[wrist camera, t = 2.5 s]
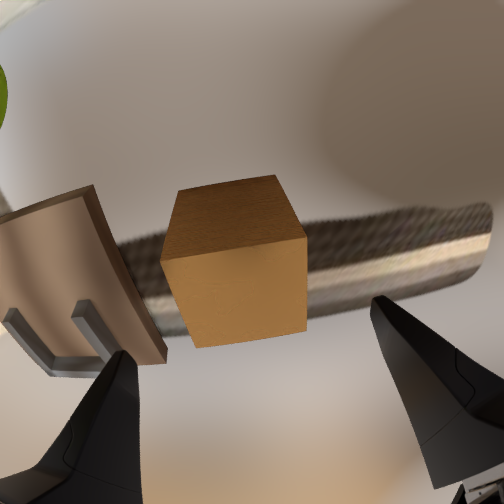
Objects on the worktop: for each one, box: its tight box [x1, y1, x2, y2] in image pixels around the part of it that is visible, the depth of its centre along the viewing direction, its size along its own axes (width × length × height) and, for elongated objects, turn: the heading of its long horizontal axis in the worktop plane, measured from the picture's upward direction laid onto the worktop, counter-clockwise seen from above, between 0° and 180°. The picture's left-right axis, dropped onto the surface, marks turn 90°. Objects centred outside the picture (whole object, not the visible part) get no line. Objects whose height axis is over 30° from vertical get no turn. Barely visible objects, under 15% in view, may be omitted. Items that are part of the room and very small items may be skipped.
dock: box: [0, 185, 168, 378], centre depth 16 cm, size 14×14×3 cm
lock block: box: [160, 175, 307, 348], centre depth 13 cm, size 5×5×6 cm
